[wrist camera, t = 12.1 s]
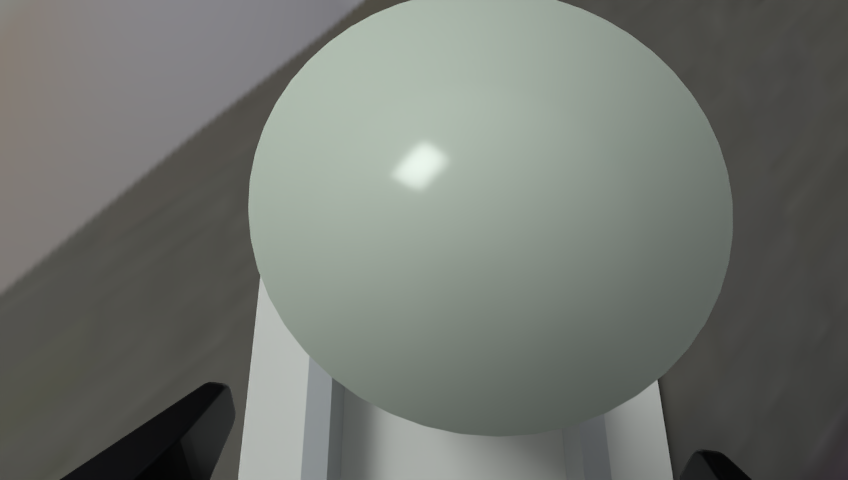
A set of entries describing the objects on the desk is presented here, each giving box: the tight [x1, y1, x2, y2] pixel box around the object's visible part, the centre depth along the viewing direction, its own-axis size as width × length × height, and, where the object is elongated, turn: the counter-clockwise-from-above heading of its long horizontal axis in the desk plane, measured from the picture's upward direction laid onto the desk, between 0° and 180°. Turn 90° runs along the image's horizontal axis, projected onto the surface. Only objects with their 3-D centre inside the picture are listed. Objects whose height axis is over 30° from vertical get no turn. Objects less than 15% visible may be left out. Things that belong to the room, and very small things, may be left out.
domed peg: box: [248, 0, 733, 437], centre depth 10 cm, size 5×5×12 cm
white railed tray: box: [238, 277, 673, 480], centre depth 15 cm, size 12×15×3 cm
